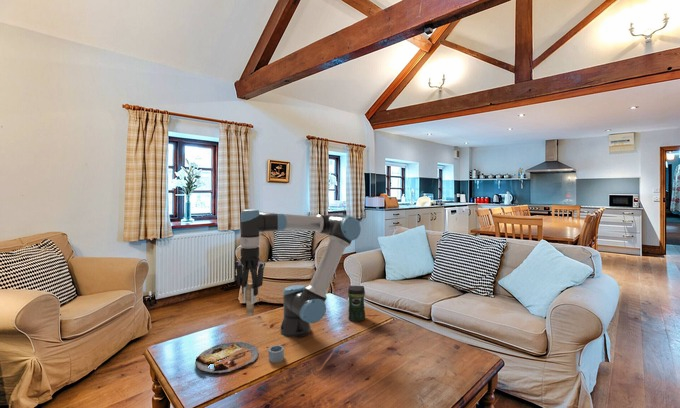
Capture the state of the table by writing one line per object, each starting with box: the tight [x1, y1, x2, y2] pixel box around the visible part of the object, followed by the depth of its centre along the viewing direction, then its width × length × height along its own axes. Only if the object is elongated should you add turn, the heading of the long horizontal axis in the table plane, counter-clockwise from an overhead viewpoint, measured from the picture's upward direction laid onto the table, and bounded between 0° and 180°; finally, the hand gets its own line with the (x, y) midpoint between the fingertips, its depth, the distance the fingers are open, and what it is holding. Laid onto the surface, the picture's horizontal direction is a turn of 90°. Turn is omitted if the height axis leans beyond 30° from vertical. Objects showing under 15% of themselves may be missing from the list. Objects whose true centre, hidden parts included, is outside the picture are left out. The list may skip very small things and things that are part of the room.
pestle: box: [245, 282, 255, 317], centre depth 131 cm, size 3×3×13 cm
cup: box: [268, 344, 285, 364], centre depth 132 cm, size 6×6×5 cm
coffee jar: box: [347, 285, 366, 322], centre depth 174 cm, size 10×8×19 cm
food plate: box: [194, 341, 259, 375], centre depth 133 cm, size 25×23×4 cm
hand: (250, 302), depth 131 cm, fingers closed on pestle, 3 cm apart
